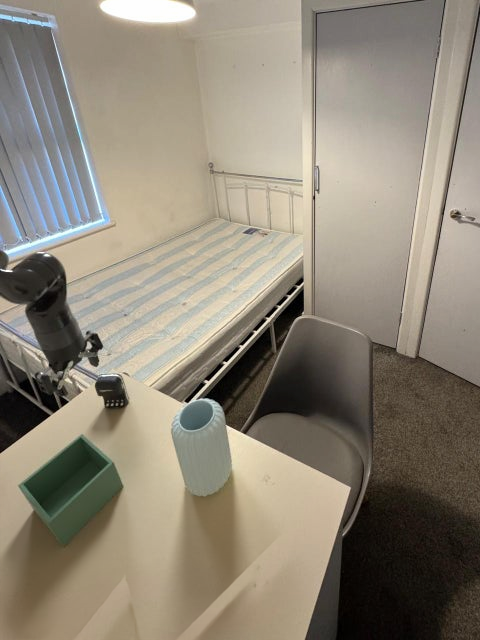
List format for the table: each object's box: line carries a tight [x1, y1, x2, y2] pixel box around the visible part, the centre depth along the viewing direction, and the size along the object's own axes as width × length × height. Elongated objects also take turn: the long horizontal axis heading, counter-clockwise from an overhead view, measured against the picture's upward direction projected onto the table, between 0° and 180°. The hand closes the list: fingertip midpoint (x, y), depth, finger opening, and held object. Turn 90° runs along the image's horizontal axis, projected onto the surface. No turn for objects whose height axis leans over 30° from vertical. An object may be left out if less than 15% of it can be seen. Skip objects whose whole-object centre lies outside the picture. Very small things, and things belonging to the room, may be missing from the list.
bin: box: [17, 433, 124, 548], centre depth 73 cm, size 13×13×10 cm
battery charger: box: [94, 373, 130, 409], centre depth 95 cm, size 7×4×11 cm, turn 93°
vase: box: [170, 397, 233, 497], centre depth 75 cm, size 12×12×22 cm
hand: (80, 379), depth 79 cm, fingers open, 8 cm apart
